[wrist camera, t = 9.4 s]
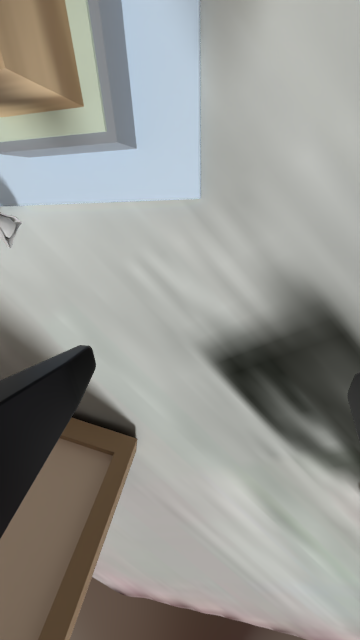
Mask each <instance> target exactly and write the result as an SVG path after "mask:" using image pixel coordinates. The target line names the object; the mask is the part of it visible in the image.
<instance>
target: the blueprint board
mask: <svg viewBox="0 0 360 640" xmlns="http://www.w3.org/2000/svg"><path fill="white" fill-rule="evenodd" d="M121 2H122V11H123V21H124V31H125V40H126V50H127V59H128V69H129V78H130V88H131V97H132V107H133V116H134V126H135V136H136V145H137V149H128V150H116V151H103V152H91V153H79V154H67V155H54V156H42V157H30V158H28V157H19V156H11V155H2V154H0V206H23V205H49V204H75V203H101V202H127V201H153V200H179V199H200V198H201V92H200V0H121Z"/></svg>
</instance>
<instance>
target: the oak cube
mask: <svg viewBox="0 0 360 640" xmlns="http://www.w3.org/2000/svg"><path fill="white" fill-rule="evenodd" d="M79 107H84V103H83V98H82V92H81V87H80V81H79V76H78V70H77V65H76V59H75V53H74V48H73V42H72V37H71V31H70V26H69V20H68V15H67V9H66V3H65V0H0V117H9V116H17V115H24V114H32V113H40V112H48V111H55V110H63V109H71V108H79Z"/></svg>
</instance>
